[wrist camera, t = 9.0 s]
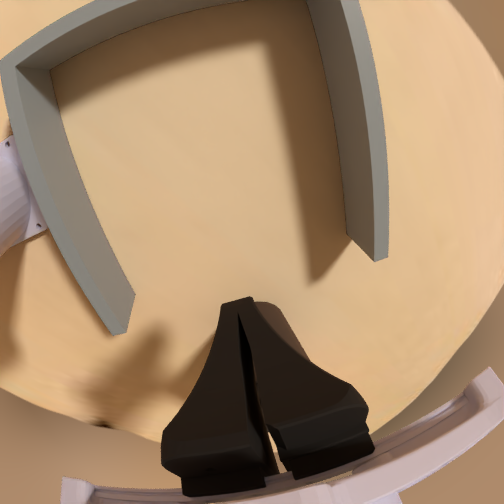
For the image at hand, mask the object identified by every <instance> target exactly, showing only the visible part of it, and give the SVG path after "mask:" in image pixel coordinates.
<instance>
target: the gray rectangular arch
mask: <svg viewBox="0 0 504 504" xmlns="http://www.w3.org/2000/svg"><path fill="white" fill-rule="evenodd" d="M239 1H246V0H95V1H93V2H90V3H88V4H86V5H84V6H82V7H80V8H78V9H77V10H75V11H73V12H71V13H69V14H67V15H66V16H64V17H62V18H60V19H59V20H57V21H55V22H54V23H52V24H50V25H49V26H47V27H45V28H44V29H42V30H41V31H39V32H38V33H36V34H35V35H33V36H32V37H30V38H29V39H27V40H26V41H25V42H23V43H22V44H21V45H19V46H18V47H16V48H15V49H14V50H13V51H11V52H10V53H9V54H7V55H6V56H5V57H4V58H2V59H1V60H0V75H1V81H2V87H3V93H4V98H5V103H6V107H7V112H8V116H9V120H10V124H11V128H12V131H13V135H14V138H15V142H16V145H17V148H18V152H19V155H20V158H21V161H22V164H23V167H24V169H25V172H26V175H27V178H28V180H29V183H30V186H31V188H32V191H33V193H34V196H35V198H36V201H37V203H38V205H39V208H40V210H41V212H42V214H43V217H44V219H45V221H46V223H47V225H48V227H49V230H50V232H51V234H52V236H53V238H54V240H55V242H56V244H57V246H58V248H59V250H60V252H61V253H62V255H63V257H64V259H65V261H66V263H67V265H68V266H69V268H70V270H71V272H72V273H73V275H74V277H75V279H76V280H77V282H78V284H79V285H80V287H81V289H82V290H83V292H84V294H85V295H86V297H87V298H88V300H89V302H90V303H91V305H92V306H93V308H94V309H95V311H96V312H97V314H98V315H99V317H100V318H101V320H102V321H103V323H104V324H105V326H106V327H107V328H108V330H109V331H110V333H111V334H112V335H113V336H114V335H118V334H123V333H126V332H127V328H128V323H129V319H130V315H131V311H132V306H133V302H134V298H135V295H136V294H135V293H134V291H133V289H132V287H131V285H130V283H129V282H128V280H127V278H126V276H125V274H124V272H123V270H122V268H121V266H120V264H119V262H118V260H117V258H116V256H115V254H114V252H113V250H112V248H111V246H110V244H109V242H108V240H107V238H106V236H105V234H104V231H103V229H102V227H101V225H100V223H99V220H98V218H97V216H96V213H95V211H94V209H93V206H92V204H91V202H90V199H89V197H88V194H87V192H86V189H85V187H84V184H83V182H82V179H81V176H80V174H79V171H78V168H77V166H76V163H75V160H74V157H73V154H72V151H71V148H70V145H69V142H68V139H67V136H66V133H65V129H64V126H63V123H62V119H61V116H60V112H59V109H58V105H57V101H56V97H55V93H54V89H53V85H52V80H51V76H50V71H49V70H51V69H52V68H54V67H56V66H57V65H59V64H61V63H62V62H64V61H66V60H68V59H69V58H71V57H73V56H75V55H77V54H79V53H81V52H83V51H84V50H86V49H88V48H91V47H93V46H95V45H97V44H99V43H101V42H103V41H105V40H108V39H110V38H112V37H115V36H117V35H119V34H122V33H124V32H127V31H129V30H132V29H134V28H137V27H140V26H143V25H145V24H148V23H151V22H154V21H157V20H161V19H164V18H167V17H170V16H174V15H177V14H181V13H185V12H189V11H193V10H197V9H201V8H206V7H211V6H216V5H221V4H227V3H233V2H239ZM306 2H307V5H308V8H309V12H310V15H311V19H312V22H313V26H314V30H315V33H316V37H317V41H318V45H319V49H320V53H321V57H322V62H323V66H324V71H325V75H326V80H327V85H328V90H329V95H330V101H331V106H332V112H333V117H334V124H335V130H336V136H337V143H338V150H339V158H340V166H341V174H342V183H343V193H344V204H345V216H346V229H347V235H348V236H349V237H350V238H351V239H352V240H353V241H354V242H355V243H356V244H357V245H358V246H359V247H360V248H361V249H362V250H363V251H364V252H365V253H366V254H367V255H368V256H369V257H370V258H371V259H372V260H373V261H374V262H376V261H379V260H382V259H384V258H387V257H388V245H389V184H388V164H387V150H386V138H385V129H384V120H383V112H382V104H381V98H380V91H379V85H378V79H377V74H376V68H375V63H374V59H373V54H372V49H371V45H370V41H369V37H368V33H367V29H366V25H365V21H364V18H363V14H362V11H361V7H360V4H359V1H358V0H306Z"/></svg>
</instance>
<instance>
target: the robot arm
mask: <svg viewBox="0 0 504 504" xmlns="http://www.w3.org/2000/svg"><path fill="white" fill-rule="evenodd" d="M8 142H9V143H10V145H9V146H8ZM38 223H39V224H40V225H41V227H39V225H38ZM47 228H48V225H47V223H46V221H45V219H44V217H43V214H42V212H41V210H40V208H39V205H38V203H37V201H36V198H35V196H34V193H33V191H32V188H31V186H30V183H29V180H28V178H27V175H26V172H25V169H24V167H23V164H22V161H21V158H20V155H19V152H18V148H17V145H16V142H15V138H14V135H10V136H9V137H8V138H6V139H5V140H4V141H2V142H1V143H0V257H1V256H2V255H3V254H4V253H5V252H6V251H7V250H8V249H9V248H10V247H12V246H14V245H16V244H18V243H20V242H22V241H24V240H26V239H28V238H30V237H32V236H34V235H36V234H38V233H40V232H42V231H44V230H46V229H47ZM253 362H254V364H253ZM254 367H255V371H254ZM255 372H256V377H257V382H258V387H259V392H260V398H261V403H262V409H263V413H262V409H261V406H260V402H259V397H258V392H257V385H256V378H255ZM368 412H369V408H368V406H367V404H366V402H365V400H364V399H363V398H362V396H361V395H360V394H359V393H358V391H357V390H356V389H355V388H354V387H353V386H352V385H351V384H349V383H347V382H345V381H343V380H341V379H339V378H337V377H335V376H333V375H331V374H329V373H328V372H326V371H324V370H323V369H321V368H319V367H318V366H316V365H315V364H314V363H312V362H311V361H309V360H308V359H306V358H305V357H304V356H302V355H301V354H300V353H298V352H297V351H296V350H295V349H294V348H292V347H291V346H290V345H289V344H288V343H287V342H286V341H285V340H284V339H283V338H282V337H281V336H280V335H279V334H278V333H277V332H276V331H275V330H274V329H273V328H272V327H271V325H270V324H269V323H268V322H267V320H266V319H265V318H264V317H263V315H262V314H261V312H260V311H259V309H258V308H257V306H256V304H255V302H254V300H253V298H252V297H250V296H249V297H246V298H242V299H238V300H235V301H231V302H227V303H224V304H222V305H221V309H220V316H219V321H218V326H217V330H216V334H215V337H214V341H213V344H212V347H211V350H210V353H209V356H208V358H207V361H206V363H205V366H204V368H203V370H202V373H201V375H200V377H199V379H198V381H197V383H196V384H195V386H194V388H193V390H192V392H191V393H190V395H189V397H188V398H187V400H186V401H185V403H184V404H183V406H182V407H181V409H180V410H179V412H178V413H177V414H176V416H175V417H174V418H173V419H172V421H171V422H170V423H169V424H168V426H167V427H166V428H165V429H164V430H163V434H162V441H161V464H162V466H163V467H164V468H165V469H167V470H168V471H170V472H172V473H174V474H175V475H177V476H179V477H181V484H182V488H176V489H135V488H118V487H106V486H97V485H93V484H92V483H90V482H88V481H85V480H82V479H78V478H71V477H66V476H63V477H62V488H61V503H60V504H208V503H216V504H402V501H401V499H400V497H399V494H398V493H399V492H401V491H403V490H405V489H407V488H409V487H411V486H412V485H414V484H416V483H417V482H420V481H421V480H423V479H425V478H426V477H428V476H430V475H431V474H433V473H435V472H436V471H438V470H439V469H441V468H442V467H444V466H446V465H447V464H449V463H450V462H451V461H453V460H454V459H456V458H457V457H459V456H460V455H461V454H463V453H464V452H465V451H467V450H468V449H469V448H471V447H472V446H473V445H475V444H476V443H477V442H478V441H480V440H481V439H482V438H483V437H485V436H486V435H487V434H488V433H489V432H491V431H492V430H493V429H494V428H495V427H496V426H497V425H498V424H499V423H500V422H501V421H503V419H504V385H503V383H502V382H501V381H500V380H499V378H498V377H497V375H496V374H495V373H494V372H493V370H492V369H491V368H490V367H487V368H486V369H485V370H484V371H482V372H481V373H480V374H478V375H477V376H476V377H474V378H473V379H472V380H471V381H470V382H469V383H468V384H467V385H466V387H465V388H464V391H463V392H461V393H460V394H459V395H457V396H456V397H454V398H453V399H451V400H450V401H448V402H447V403H445V404H443V405H442V406H440V407H439V408H437V409H436V410H434V411H432V412H430V413H429V414H427V415H425V416H424V417H422V418H420V419H418V420H417V421H415V422H413V423H411V424H409V425H407V426H406V427H404V428H402V429H400V430H398V431H396V432H394V433H392V434H390V435H387V436H385V437H383V438H381V439H379V440H377V441H374V442H372V440H371V438H370V435H369V433H368V432H369V428H368V426H367V424H366V418H367V415H368ZM263 415H264V417H263ZM266 426H267V428H268V430H269V432H270V434H271V436H272V438H273V440H274V442H275V444H276V447H277V450H278V454H279V458H280V461H281V462H282V463H283V465H284V466H285V468H286V470H287V472H285V473H281V474H280V472H279V470H278V466H277V463H276V459H275V456H274V453H273V449H272V446H271V442H270V439H269V435H268V432H267V428H266ZM351 470H353V471H352V475H349V476H346V477H344V478H340V479H337V480H333V481H330V482H326V483H318V484H313V483H316V482H320V481H323V480H326V479H329V478H332V477H334V476H338V475H340V474H343V473H346V472H348V471H351ZM310 484H312V485H310ZM306 485H308V486H306ZM218 502H221V503H218Z"/></svg>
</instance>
